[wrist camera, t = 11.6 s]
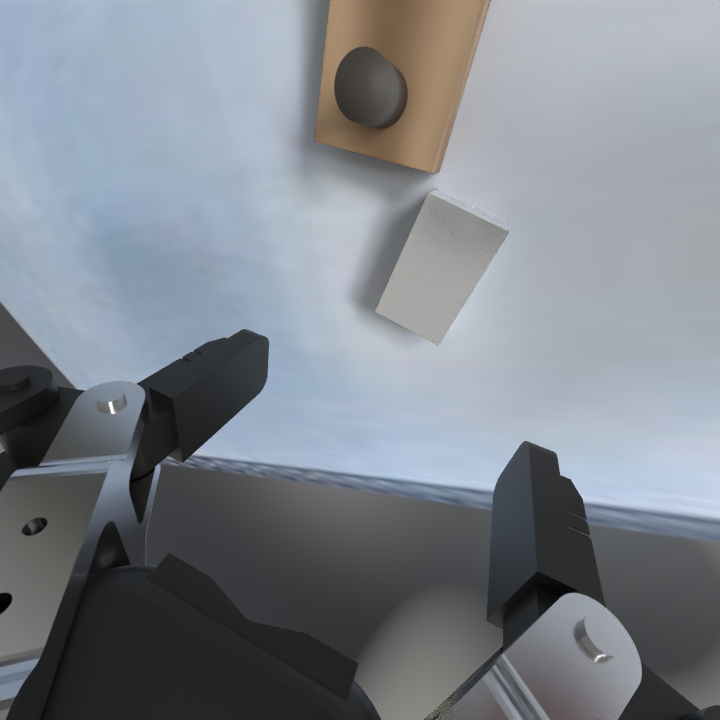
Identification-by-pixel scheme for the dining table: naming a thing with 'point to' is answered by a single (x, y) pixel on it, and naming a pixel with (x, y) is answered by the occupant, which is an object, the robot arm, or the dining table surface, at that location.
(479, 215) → the lever cap
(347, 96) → the body
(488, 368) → the dining table surface
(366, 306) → the dining table surface
